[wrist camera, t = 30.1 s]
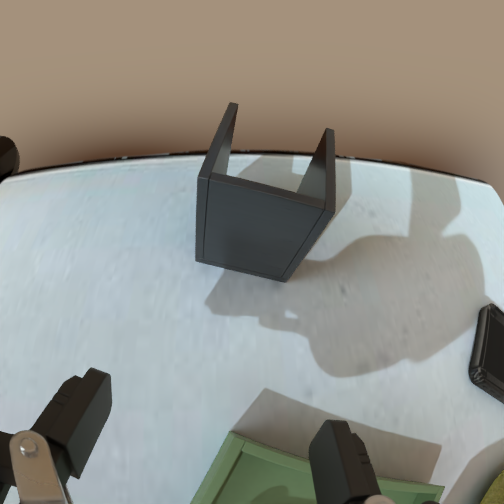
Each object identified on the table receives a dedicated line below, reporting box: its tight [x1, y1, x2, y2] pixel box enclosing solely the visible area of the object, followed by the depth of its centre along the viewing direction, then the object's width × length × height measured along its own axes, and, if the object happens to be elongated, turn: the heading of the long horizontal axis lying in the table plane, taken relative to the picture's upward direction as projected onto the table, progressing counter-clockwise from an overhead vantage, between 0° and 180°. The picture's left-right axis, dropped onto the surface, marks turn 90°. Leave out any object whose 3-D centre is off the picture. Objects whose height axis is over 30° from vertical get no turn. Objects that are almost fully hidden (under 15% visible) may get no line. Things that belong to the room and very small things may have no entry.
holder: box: [195, 102, 336, 282], centre depth 17 cm, size 6×6×8 cm
